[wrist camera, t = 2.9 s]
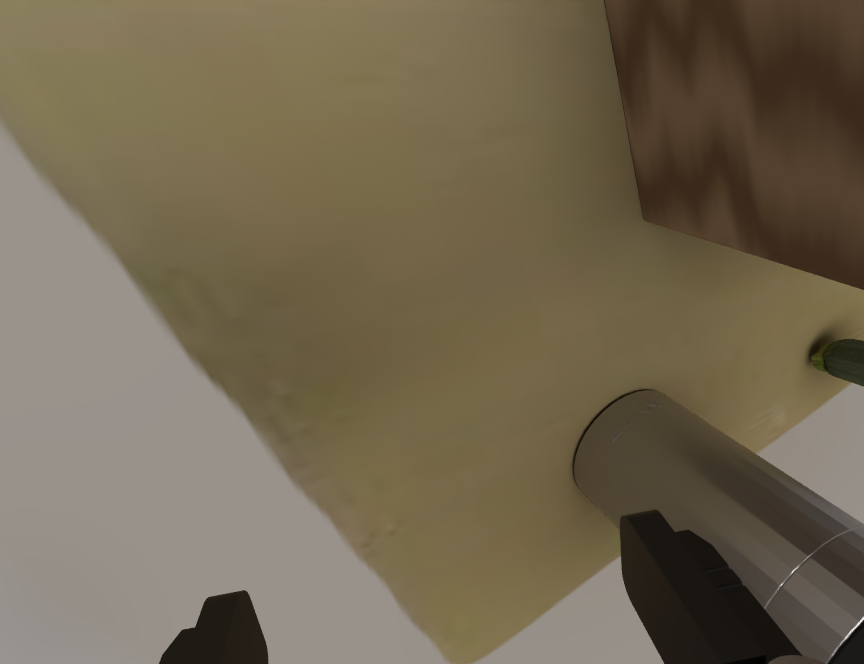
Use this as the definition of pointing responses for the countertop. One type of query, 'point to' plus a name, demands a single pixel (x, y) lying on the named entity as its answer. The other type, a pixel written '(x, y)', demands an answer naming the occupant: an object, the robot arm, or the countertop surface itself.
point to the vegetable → (842, 360)
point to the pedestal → (749, 124)
